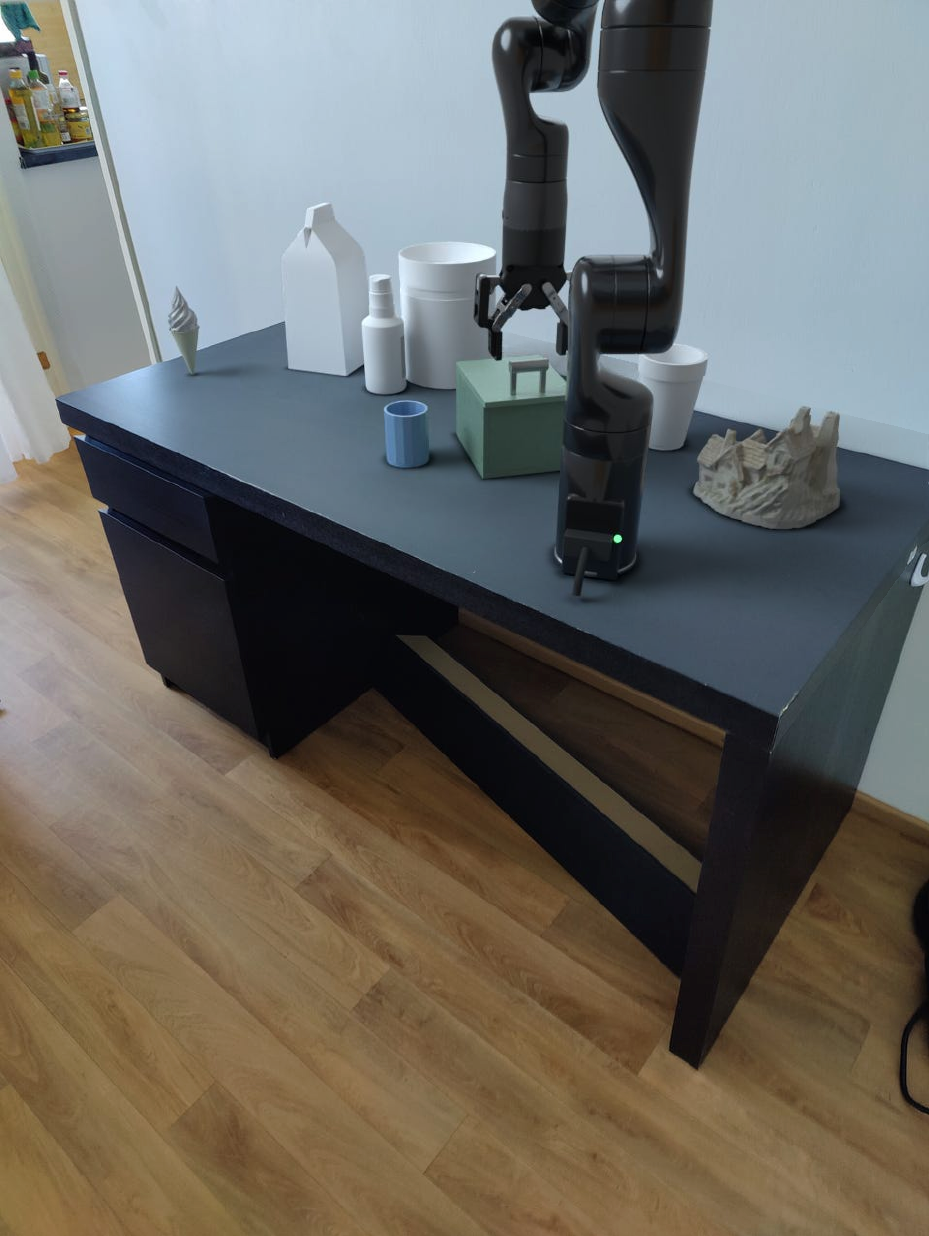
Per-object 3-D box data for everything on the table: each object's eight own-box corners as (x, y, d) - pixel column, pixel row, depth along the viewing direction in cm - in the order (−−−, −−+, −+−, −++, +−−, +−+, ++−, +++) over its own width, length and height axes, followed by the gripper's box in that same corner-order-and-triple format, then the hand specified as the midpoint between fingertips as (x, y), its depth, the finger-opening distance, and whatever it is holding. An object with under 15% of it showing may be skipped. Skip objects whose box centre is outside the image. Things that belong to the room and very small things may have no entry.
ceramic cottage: (858, 505, 113) (880, 390, 105) (768, 543, 106) (784, 424, 98) (764, 468, 124) (776, 362, 116) (677, 501, 118) (684, 390, 110)
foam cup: (694, 457, 126) (708, 367, 118) (628, 452, 127) (638, 362, 120) (693, 431, 133) (707, 345, 126) (631, 426, 135) (641, 341, 128)
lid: (577, 399, 116) (580, 360, 113) (484, 408, 114) (485, 368, 111) (539, 359, 129) (541, 323, 126) (455, 366, 127) (455, 330, 124)
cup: (421, 470, 123) (419, 418, 118) (380, 465, 124) (377, 414, 120) (434, 452, 127) (433, 402, 123) (395, 448, 129) (392, 398, 124)
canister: (508, 382, 151) (511, 259, 140) (419, 394, 147) (415, 267, 135) (475, 353, 164) (476, 238, 152) (392, 364, 159) (386, 246, 148)
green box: (570, 469, 123) (575, 397, 117) (482, 479, 120) (483, 406, 114) (536, 426, 135) (539, 360, 129) (456, 434, 133) (455, 367, 127)
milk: (346, 376, 154) (333, 214, 139) (288, 368, 157) (269, 209, 143) (376, 355, 163) (366, 201, 149) (321, 348, 167) (306, 197, 152)
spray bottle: (414, 385, 150) (410, 274, 140) (390, 397, 145) (384, 284, 135) (382, 378, 153) (375, 269, 143) (357, 390, 148) (349, 278, 138)
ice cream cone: (194, 367, 158) (178, 280, 149) (213, 373, 155) (198, 284, 147) (171, 375, 155) (154, 286, 146) (190, 381, 152) (174, 291, 144)
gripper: (484, 230, 100) (482, 371, 109) (603, 223, 102) (592, 361, 112) (468, 217, 106) (468, 351, 115) (581, 211, 108) (572, 343, 118)
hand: (529, 356), depth 113 cm, fingers open, 8 cm apart
